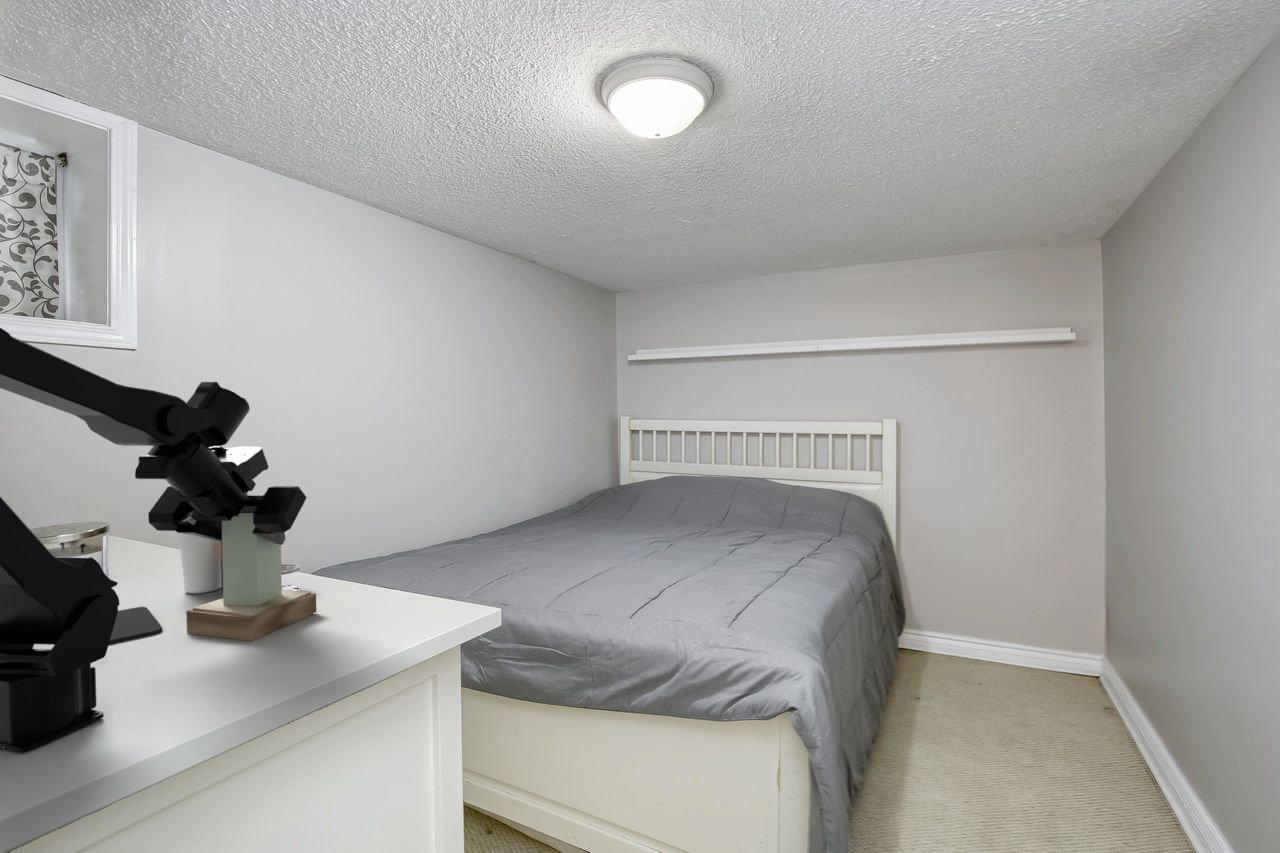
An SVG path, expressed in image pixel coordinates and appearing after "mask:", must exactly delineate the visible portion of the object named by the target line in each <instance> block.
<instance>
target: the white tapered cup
mask: <svg viewBox="0 0 1280 853" xmlns="http://www.w3.org/2000/svg"><path fill="white" fill-rule="evenodd" d="M177 536H178V545H179V551H180V552H179V553H180V560H181V567H182V569H181V570H182V576H183V590H184V591H185V593H188V594H196V595H197V594H204V593H205V594H206V593H210V592H214V591H217V590H219V589H222V584H221V541H217V540H213V539H208V538H204V537H199V536H194V535H189V534H184V533H178V532H177Z"/></svg>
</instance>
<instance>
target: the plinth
mask: <svg viewBox="0 0 1280 853" xmlns="http://www.w3.org/2000/svg"><path fill="white" fill-rule="evenodd" d="M315 612H316V613H317V593H316V592H315V593H313V592H311V591H302V590H300V591H298V590H297V591H293V590H283V589H282V595H280V596H278V597H275V598H273V599H271V600H269V601H267V602H265V603H263V604H260V605H258V606H251V605H223V597H222V598H220V599H215V600H213V601H210V602H207V603H204V604H200V605H198V606H195V607H192V609H189V610H186V612H185V613H186V633H187V634H194V635H201V636H210V637H218V638H224V639H230V640H231V639H234V640H240V641H248V642H251V641H253V640H256V639H259V638H262V637H263V636H266V635H269V634H271V633H274V632H275V631H278V630H281V629H282V628H283V629H284V628H286V627H287V626H289V625H293V624H295V623H297V622H299V621H302V620H304V619H306V618H305V617H307V616H309V615H311V614H313V613H315ZM311 616H312V615H311ZM309 617H310V616H309ZM303 618H304V619H303ZM307 618H308V617H307ZM301 619H302V620H301Z"/></svg>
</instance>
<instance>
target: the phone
mask: <svg viewBox="0 0 1280 853" xmlns="http://www.w3.org/2000/svg"><path fill="white" fill-rule="evenodd" d="M162 632H163V627H162V625H161V624H160V623H159V621H158V620H157V618H155V616H154V615H153V614H152V612H151V611H150V609H148V607H146V606H138V607H137V606H136V607H131V608H126V609H119V610H118V613H117V617H116V621H115V624H114V628H113V631H112V635H111V638H110V642H109V645H108V646H110V645H115V644H119V643H123V642H128V641H132V640H136V639H141V638H146V637H151V636H156V635H159V634H160V633H162Z"/></svg>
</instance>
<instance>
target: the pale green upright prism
mask: <svg viewBox="0 0 1280 853" xmlns="http://www.w3.org/2000/svg"><path fill="white" fill-rule="evenodd" d="M254 528H255V525H254V524H253V513H240V514H239V515H238V517H237V518H232V519H231V520H230V521H222V559H223V591H222V594H223V595H222V596H223V597H222V598H223V605H251V606H258V605H260V604H263V603H265V602H267V601H269V600H271V599H273V598H275V597H278V596H280V595H282V586H283V585H282V575H281V564H282V545H279V544H276V543H273V542H271V541H269V540H266V539H264V538H262V537H259V536H257V535H255V534H253V533H252V532H253V530H254Z"/></svg>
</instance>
